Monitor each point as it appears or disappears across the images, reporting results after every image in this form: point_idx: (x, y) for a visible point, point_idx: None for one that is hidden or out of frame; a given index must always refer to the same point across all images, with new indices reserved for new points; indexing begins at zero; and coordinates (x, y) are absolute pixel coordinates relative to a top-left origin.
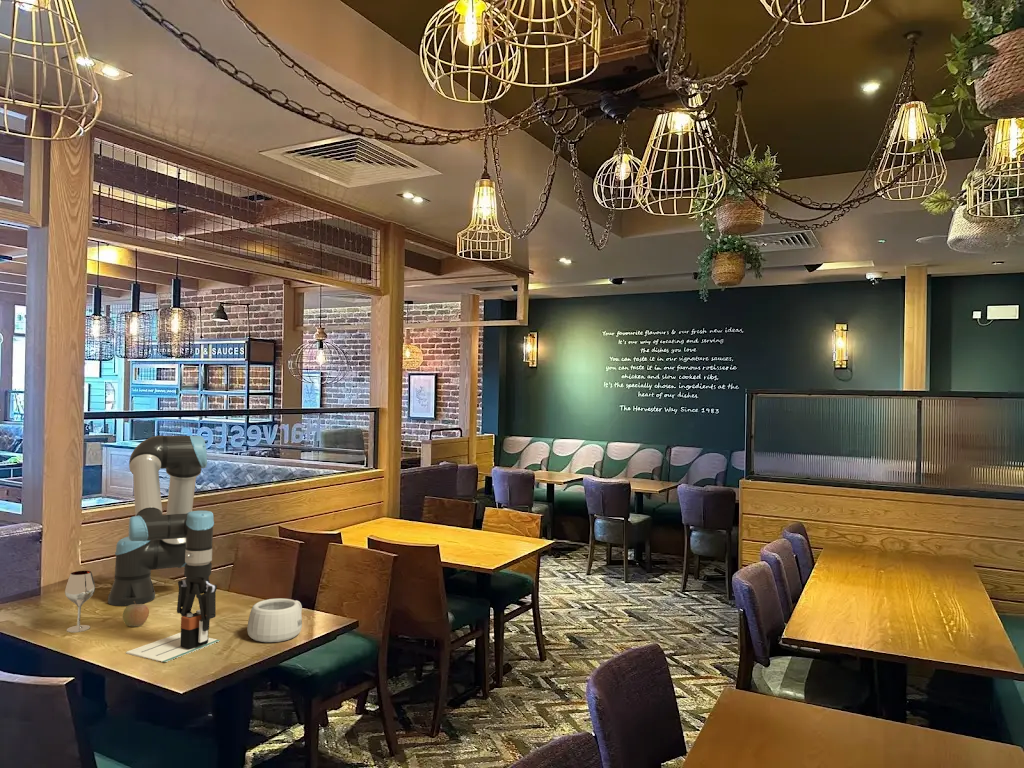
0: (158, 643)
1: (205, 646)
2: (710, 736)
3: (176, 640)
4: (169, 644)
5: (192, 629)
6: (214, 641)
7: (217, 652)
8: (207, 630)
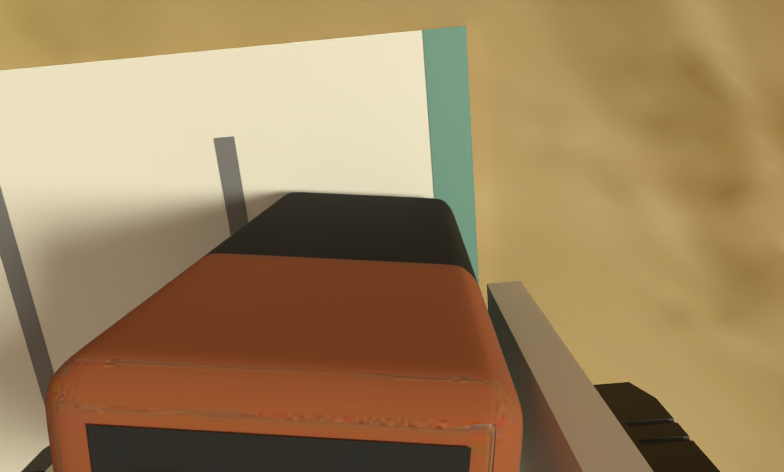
0: (12, 468)
1: (476, 257)
2: None
3: (59, 323)
4: None
5: None
6: (445, 102)
7: (707, 280)
8: (562, 349)
